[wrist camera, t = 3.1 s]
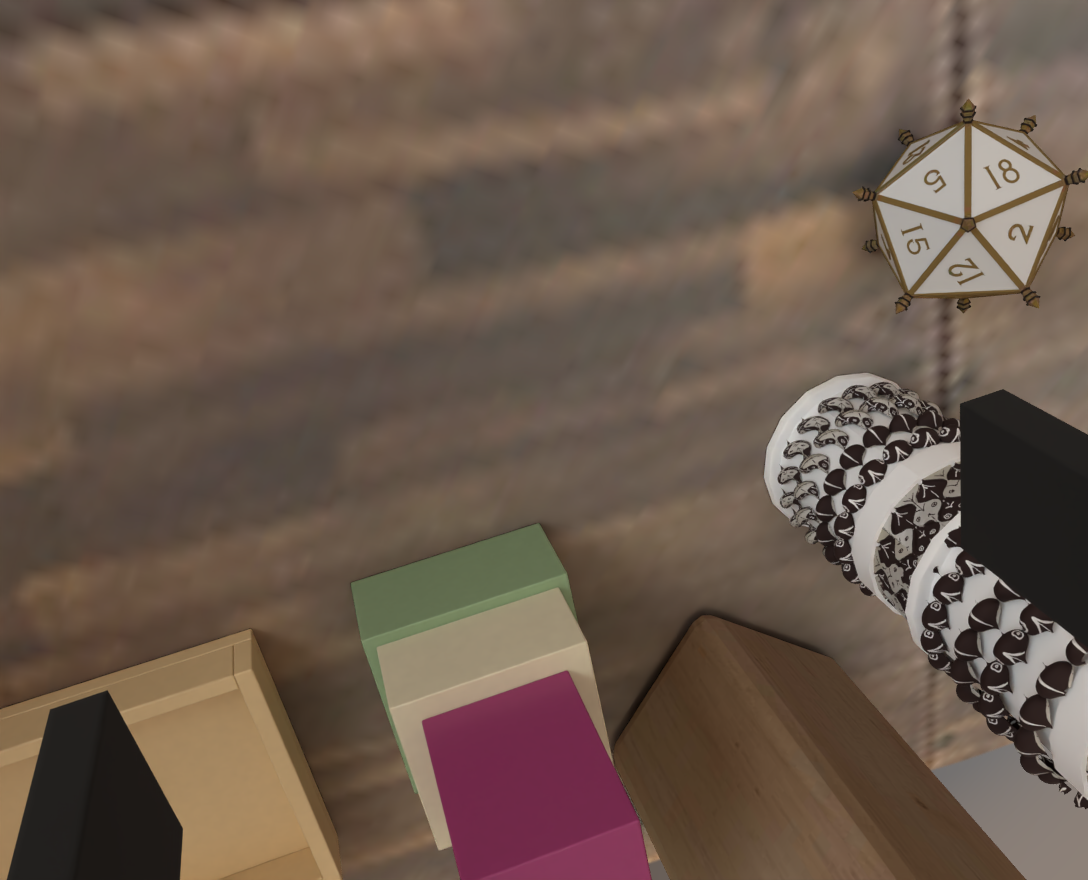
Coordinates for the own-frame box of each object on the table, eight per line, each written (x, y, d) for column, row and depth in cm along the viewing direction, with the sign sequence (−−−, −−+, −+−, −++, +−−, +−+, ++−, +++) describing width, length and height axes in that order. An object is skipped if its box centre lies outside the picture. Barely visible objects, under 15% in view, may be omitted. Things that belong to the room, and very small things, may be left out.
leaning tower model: (804, 566, 51) (1222, 1000, 30) (724, 444, 47) (1149, 850, 25) (947, 461, 51) (1476, 820, 29) (880, 328, 47) (1447, 636, 25)
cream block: (423, 783, 45) (438, 851, 41) (375, 646, 41) (388, 708, 37) (589, 724, 46) (618, 785, 42) (558, 586, 42) (587, 641, 39)
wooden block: (836, 652, 55) (1117, 968, 37) (741, 789, 57) (963, 1146, 40) (696, 601, 50) (939, 931, 33) (600, 752, 53) (779, 1133, 35)
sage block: (400, 728, 49) (415, 794, 45) (350, 582, 44) (360, 641, 41) (572, 669, 50) (601, 728, 46) (539, 522, 46) (567, 573, 42)
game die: (879, 138, 47) (1101, 43, 39) (938, 307, 48) (1165, 247, 40) (772, 181, 41) (1004, 81, 33) (841, 370, 42) (1082, 316, 35)
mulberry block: (456, 826, 41) (501, 1002, 34) (420, 719, 38) (461, 887, 31) (592, 777, 42) (664, 937, 35) (567, 668, 39) (639, 820, 32)
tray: (-20, 964, 48) (-35, 1021, 45) (-167, 761, 41) (-195, 815, 39) (337, 835, 50) (343, 882, 48) (251, 627, 44) (252, 668, 41)
